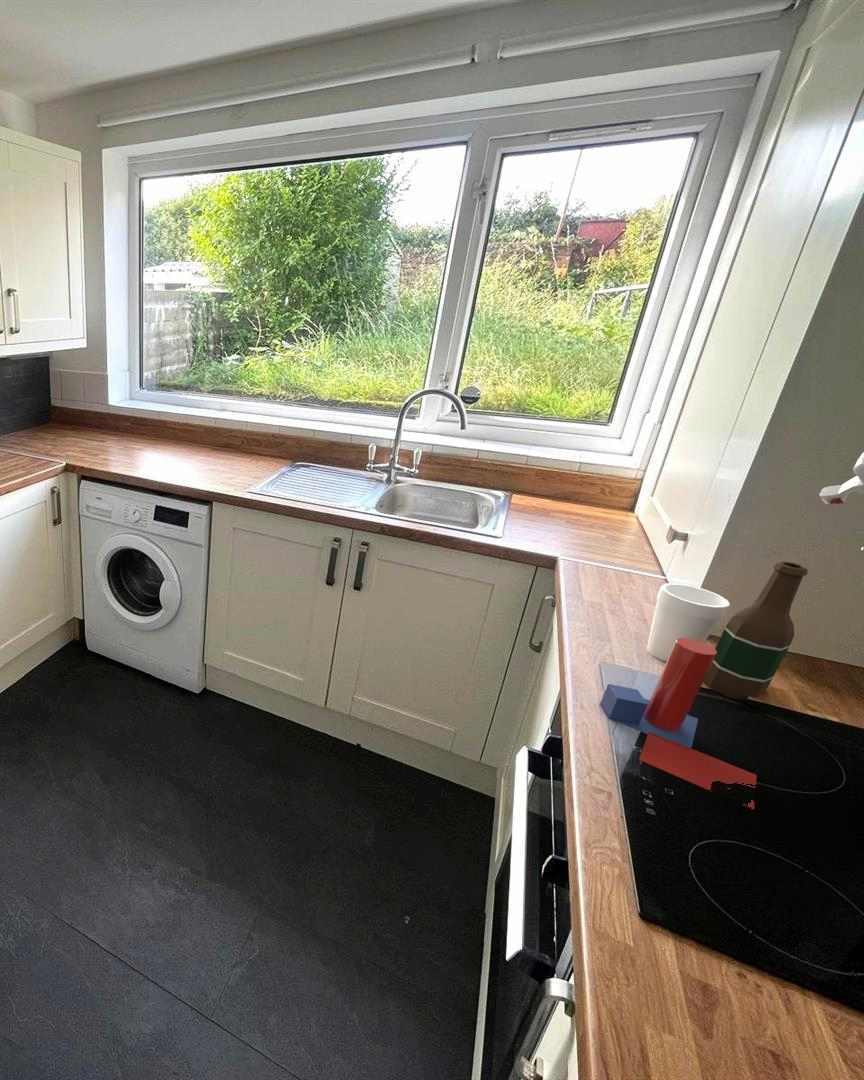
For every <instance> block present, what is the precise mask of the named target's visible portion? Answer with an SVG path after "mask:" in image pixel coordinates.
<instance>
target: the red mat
mask: <svg viewBox="0 0 864 1080" xmlns="http://www.w3.org/2000/svg"><path fill="white" fill-rule="evenodd" d="M650 733H651V735H650ZM653 734H654V733H652V732H649V734H646V738H645V741H644V744H643V747H642V749H641V752H640V756H639V758H638V760H639V761H641V762H643V763H645V764H647V765H649V766H652V767H654V768H656V769H659V770H661V771H664V772H666V773H668V774H670V775H673V776H674V777H677V778H680V779H682V780H683V781H686V782H689V783H691V784H693V785H696V786H698V787H699V788H702V789H705V790H707V791H709V790H710V789H711V786H712V785H711V784H712V782H715V781H720V782H723V783H726V784H733V783H737V782H738V783H737V784H742V783H744V784H742V785H746V784H752V785H756V787H755V786H751V785H746V786H749V787H753V788H757V774H755V773H752V772H750V771H748V770H746V769H743V768H740V767H738V766H735V765H733V764H730V763H728V762H725V761H723V760H722V759H721V760H720V759H719V758H716V757H713V756H711V755H708V754H705V753H703V752H700V751H698V750H695V749H693V748H690V749H689V747H685V746H684V745H681V744H679V743H676V742H674V741H672V742H671V740H669V739H667V740H668V741H667V740H665V738H664V737H661V736H659V735H657V734H654V735H655V736H654V735H653ZM657 736H658V737H657ZM674 744H676V745H674ZM677 744H679V745H677ZM680 745H681V746H680ZM688 749H689V750H688ZM727 788H728V787H727ZM728 789H731V788H728ZM709 792H712V791H711V790H710V791H709ZM755 802H756V801H755ZM755 802H754V801H753V800H751V803H748V806H747V805H745V804H743V805H742V806H744V805H745V806H744V807H746V806H747V807H746V808H748V807H749V809H750V807H751V810H753V809H754V810H755Z"/></svg>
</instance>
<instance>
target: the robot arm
mask: <svg viewBox="0 0 864 1080" xmlns="http://www.w3.org/2000/svg"><path fill="white" fill-rule="evenodd" d="M852 470H853V473H854V474H855V476H854V477H852V478H851V479H849V480H847V481H846V482H843V484H838V485H829V486H825V487H823V488H821V491H820V492H819V494H818V496H819V498H821V501H823V502H824V503H825V505H833V504H835V505H838V504H845V503H846V501H847V499H848V498H849V497H850V495H852V494H854V493H855V492H856V493H857V494H858V495H862V496H863V495H864V451H863V452H862V453H861V454H860V456H859V457H858V458H857V461H856V462H855V464H854V466H853V469H852ZM861 551H862V552H863V553H864V546H861Z"/></svg>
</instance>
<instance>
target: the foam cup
mask: <svg viewBox="0 0 864 1080" xmlns="http://www.w3.org/2000/svg"><path fill="white" fill-rule="evenodd" d="M656 598H657V599H656V605H655V609H654V614H653V618H652V622H651V627H650V633H649V635H648V636H649V637H648V642H647V647H646V650H647V652H648V654H650V655H651V656H652V657H654V658H656V659H658V660H660V661H663V662H665V663H666V662H667V660H668V657H669V655H670V653H671V651H672V648H673V646H674V644H675V642H676V640H677V639H678V638H689V639H694V640H697V641H700V642H703V643H705V642H706V640H707V639H708V638H709V636H710V635H711V634H712V633H713V630H715V628H716V626H717V625H718V623H719V622H720V621H721V619H722V618H724V617H726V614H727V612H728V610H729V607H730V606H731V604H730V602H729V600H728V599H726V598H724V597H723V596H722V595H720V594H718V593H715V592H713V591H711V590H708V589H705V588H702V587H697V586H694V585H691V584H684V583H683V584H682V583H678V582H677V583H676V582H675V583H674V582H673V583H672V582H671V583H669V582H668V583H664V584H662V585H660V588H659V590H658V593H657V595H656Z"/></svg>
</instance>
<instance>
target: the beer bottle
mask: <svg viewBox="0 0 864 1080" xmlns="http://www.w3.org/2000/svg"><path fill="white" fill-rule="evenodd" d="M772 568H773V571H772V573H771V575H770V577H769V579H768V580H767V582H766V584H765V585H764V587H763V589H762V590H761V592H760V593H759V595H758V597H757V598H756V599H755V600H754V602H753V603H752V604H751V605H748V606H747V607H745V608H743V609H741V610H738V612H736V613H735V614H734V615H733V616H732V617H730V619H729V621H728V622H727V624H726V626H724V630H723V631H722V633H721V635H720V638H719V640H718V642H717V644H716V646H715V648H714V649H715V650H716V651H717V654H716V656H715V658H714V660H713V662H712V664H711V666H710V668H709V670H708V673H707V675H706V677H705V679H704V681H703V683H704V684H705V685H706V686H707V687H708V688H709V689H710V690H713V691H715V692H717V693H719V694H721V695H722V696H725V697H728V698H729V699H734V700H739V701H744V702H748V699H749V698H748V697H752V698H757V697H759V696H761V695H764V694H765V693H766V691H767V690H768V688H769V686H770V684H771V682H772V680H773V678H774V677H775V675H776V673H777V670H778V669H779V667H780V665H781V664H782V661H784V658H785V656H786V654H787V652H788V650H789V649H790V646H791V645H792V642H793V639H794V637H795V625H794V622H793V620H792V618H791V615H790V612H791V609H792V604H793V602H794V600H795V597H796V594H797V593H798V589H800V588H799V587H800V585H801V582H802V580H803V578H804V577H805V576H807V575H808V568H806V567H805V566H803V565H801V564H798V563H795V562H792V561H791V562H790V561H779V562H776V563H775V565H774V566H772Z"/></svg>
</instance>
